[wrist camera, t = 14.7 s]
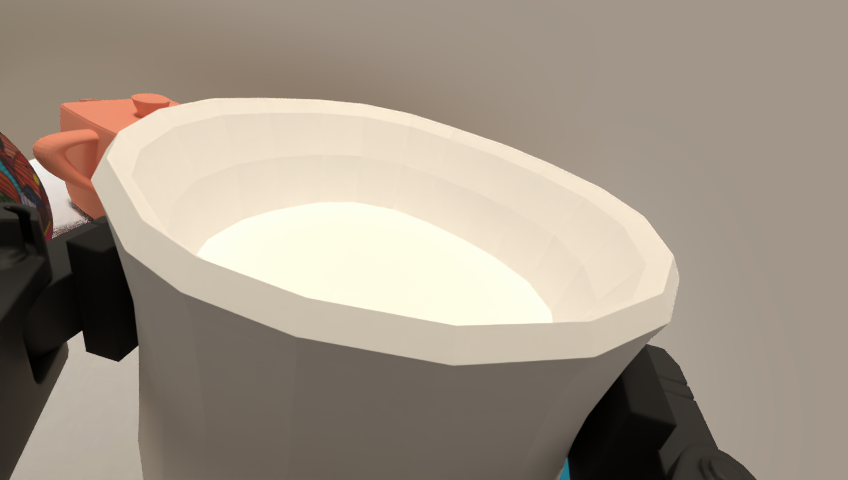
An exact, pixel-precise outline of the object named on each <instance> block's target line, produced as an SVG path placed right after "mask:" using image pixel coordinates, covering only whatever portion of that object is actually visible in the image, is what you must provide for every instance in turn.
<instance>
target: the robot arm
mask: <svg viewBox="0 0 848 480" xmlns="http://www.w3.org/2000/svg"><path fill="white" fill-rule="evenodd" d="M80 331H83V337H84V342H85V347H86V352H89V353H92V354H95V355H98V356H102V357H105V358H108V359H111V360H114V361H117V362H119V361H120V360H122V359H123V358H124V357H125V356H126V355H128V354H129V353H130V352H131V351H132V350H134V349H135V348H136V347H137V346H138V345H139V344H138V336H137V327H136V319H135V310H134V302H133V298H132V295H131V292H130V289H129V286H128V282H127V279H126V276H125V273H124V270H123V266H122V263H121V260H120V257H119V254H118V251H117V247H116V244H115V241H114V238H113V235H112V232H111V229H110V226H109V223H108V220H107V217H106V216H101V217H99V218H97V219H95V220H92V222H91V223H86V224H84V225H81V226H79V227H77V228H75V229H73V230H70V231H68V232H66V233H64V234H62V235H59V236H57V237H55V238H53V239H51V240H49V241H46V240H45V235H44V230H43V225H42V221H41V216H40V213H39V212H38V211H37V210H36V209H35V208H33V207H31V206H28V205H25V204H18V203H10V202H1V203H0V480H9V479H10V477H11V475H12V473H13V471H14V468H15V466H16V464H17V462H18V460H19V458H20V456H21V454H22V452H23V450H24V448H25V446H26V443H27V441H28V439H29V437H30V435H31V433H32V431H33V429H34V427H35V425H36V423H37V421H38V419H39V416H40V414H41V412H42V410H43V408H44V406H45V404H46V402H47V400H48V398H49V396H50V394H51V391H52V389H53V387H54V385H55V383H56V381H57V379H58V377H59V375H60V373H61V371H62V369H63V366H64V364H65V362H66V360H67V358H68V352H69V349H68V344H67V341H68V340H69V339H70V338H72V337H73V336H75V335H76V334H78V333H79V332H80ZM693 399H694V396H693V394H692V392H691V390H690V388H689V387H688V386H687V382H686V379H685V377H684V375H683V373H682V371H681V369H680V366H679V365H678V364H677V363H676V362H675V361H674V360H673V359H672V357H671V356H670V355H669V354H668V353H667V352H666V351H665V350H664V349H662V348H659V347H655V346H651V345H648V344H646V345H645V346H644V347H643V348H642V349H641V350H640V352H639V353H638V354H637V355H636V356H635V357H634V358H633V360H632V361H631V362H630V363H629V364H628V365H627V366H626V368H625V369H624V370H623V371H622V373H621V374H620V375H619V376H618V378H617V379H616V380H615V382H614V383H613V384H612V385H611V387H610V388H609V389H608V390H607V392H606V393H605V394H604V396H603V397H602V398H601V399H600V401H599V402H598V403H597V404H596V406H595V407H594V408H593V409H592V411H591V412H590V413H589V415H588V416H587V418H586V419H585V421H584V423H583V425H582V427H581V429H580V430H579V432H578V434H577V436H576V438H575V439H574V441H573V444H572V446H571V449H570V451H569V454H568V456H567V458H568V467H569V476H570V480H756V479H755V478H754V476H753V475H752V474H751V473H750V472H749V471H748V470H747V469H746V468H745V467H744V466H743V465H742V464H740V463H739V462H738V461H736V460H735V459H733V458H732V457H731V456H730V455H728V454H726V453H725V452H723V451H721V450H718V447H717V446H716V443H715V441H714V439H713V437H712V435H711V433H710V430H709V428H708V426H707V424H706V422H705V420H704V418H703V415H702V413H701V411H700V409H699V407H698V405H697V403H696V401H694V400H693Z"/></svg>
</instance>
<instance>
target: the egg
mask: <svg viewBox="0 0 848 480" xmlns="http://www.w3.org/2000/svg"><path fill="white" fill-rule="evenodd" d="M1 202H10V203H18V204H25V205H28V206H31V207H33V208H35V209H36V210H37V211H38V212H39V213H40V216H41V221H42V225H43V230H44V235H45V240H46V241H49V240H51V239H52V235H53V217H52V212H51V207H50V203H49V200H48V197H47V194H46V192H45V189H44V187H43V185H42V183H41V181H40V179H39V177H38V175H37V174H36V172H35V171H34V169H33V167H32V166H31V165H30V163H29V162H28V160H27V159H26V158H25V157H24V156H23V154H22V153H21V152H20V151H19V150H18V149H17V148H16V146H15V145H13V144H12V143H11V141H10V140H9V139H8V138H7V137H5V136H4V135H3V134H2V133H1V132H0V203H1Z"/></svg>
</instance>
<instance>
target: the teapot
mask: <svg viewBox="0 0 848 480" xmlns="http://www.w3.org/2000/svg"><path fill="white" fill-rule="evenodd" d="M177 105H182V104H179V103H176V102H174V101H171V100H170V99H168V98H166V97H164V96H161V95H157V94H149V93H141V94H136V95H133V96H132V99H120V100H104V101H103V100H102V101H101V100H100V99H79V102H72V103H63V104H62V105H61V108H60V111H61V112H60V125H61V132H60V133H56V134H51V135H48V136H45V137H43V138H41V139H39V140H38V141H37V142H35V143H34V146H33V154H34V156H35V158H36V160H37V161H38V162H39V163H40V164H41V165H42V166H43V167H44V168H45V169H46V170H47V171H49V172H50V173H52V174H53V175H54V176H56V177H58V178H60V179H62V180H63V181H65V184H66V187H67V190H68V193H69V195H70V198H71V200H72V201H73V203H74V204H75V205H76V206H78V207H79V208H80V209H81V210H83V211H84V212H85V213H86V214H88V215H89V216H90V217H92V218H93V219H94V220H95V219H97V218H99V217H101V216H106V214H105V211H104V209H103V206H102V203H101V201H100V199H99V196H98V194H97V192H96V190H95V188H94V186H93V184H92V182H91V178H92V176H93V174H94V172H95V170H96V169H97V167H98V165H99V163H100V161H101V159H102V157H103V155H104V153H105V151H106V149H107V148H108V146H109V145H110V144H111V142H112V141H113V140H114V138H115V137H116V135H117V134H118V133H119V131H121V130H123V129H124V128H126V127H128V126H130V125H131V124H133V123H135V122H137V121H138V120H140V119H142V118H144V117H146V116H147V115H149V114H151V113H153V112H154V111H156V110H158V109H162V108H167V107H172V106H177Z"/></svg>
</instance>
